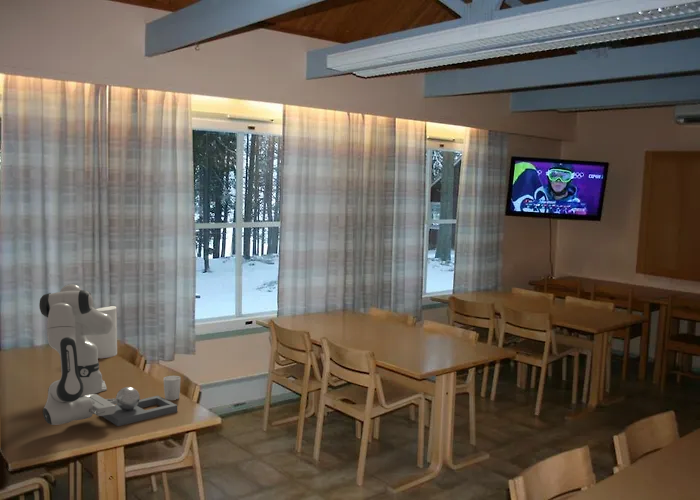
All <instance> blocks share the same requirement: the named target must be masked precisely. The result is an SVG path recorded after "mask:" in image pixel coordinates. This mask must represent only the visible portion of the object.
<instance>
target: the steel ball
mask: <svg viewBox="0 0 700 500" xmlns="http://www.w3.org/2000/svg"><path fill="white" fill-rule="evenodd" d="M115 399H116V400H118V404H116V405H118V406H119V407H120V408H121V409H123V410H131V409H133V408H135V407H136V406H137V405H138V403H139V400H140V393H139V391H138V390H137V389H136V388H134V387H132V386H126V387H123V388H121V389H120V390H119V391H118V392H117V394H116V397H115Z"/></svg>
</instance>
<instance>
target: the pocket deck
mask: <svg viewBox="0 0 700 500" xmlns="http://www.w3.org/2000/svg"><path fill="white" fill-rule="evenodd" d="M156 405H158V407H154V408H149V409H146V410H145V409H144V408H146V407H151V406H156ZM115 407H116V412H115V413H114V414H110V415H104V416H101V417H102V418H104V419H105V420H107V421H109V422H110V423H112V424H113V425H115V426H117V427H121V426H125V425H129V424H133V423H137V422H141V421H145V420H150V419H154V418H157V417H162V416H166V415H170V414H174V413H177V412H178V404H176V403H173V402H172V401H171V400H166V399H165V397H161V396H160V395H154V396H149V397H146V398H141V399H140V400H139V403H138V405H137V406H136V407H135V408H133V409H131V410H123V409H121V408H120V407H119V406H118V405H117V404H115Z"/></svg>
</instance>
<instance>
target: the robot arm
mask: <svg viewBox="0 0 700 500" xmlns="http://www.w3.org/2000/svg"><path fill="white" fill-rule="evenodd" d="M38 307H39V311H40V313H41V315H42V316H44V317H45V318H47V325H46V326H47V327H46V334H47V342H48V345H49V346H50V347H51V348H52V349H54V350H55V351H56V352H57V353H58V354H59V357H60V371H61V374H60V375H61V376H60V379H57V380H54V381H53V382H51V383H50V385H49V387H48V388H47V389H48V390H47V399H46V402H45V405H44V407H43V408H42V415H43V418H44V420H45V422H46V423H47V424H48V425H50V426H51V425H52V426H55V425H64V424H68V423H71V422H73V421H81V420H85V419H89V418H91V417H93V415H96V416H97V417H102V416H104V415H110V414H114V413H115V412H116V407H115V405H117V404H118V400H116V397H115V398H114V397H113V398H104V397H102V396H100V395H99V394H98V393H102V392H104V391H107V384H106V381H105V380H104V379H103V373H102V372H101V371H100V362H99V360H98V359H99V358H98V348H97V346H96V345H95V344H94V343H92V342H90V341H89V340H88V339H87V338H86V335H103V334H108V333H109V332H110V331H111V329H112V327H113V321H112V318H111V317H110V315H108V314H105V313H102V312H100V311H98V310H96V309H97V308H95V307H94V299H93V296H92V294H91V292H89V291H88V290H85V289H84V290H83V289H82V288H81V287H80V286H79V285H76V284H75V283H74V284H73V283H70V284H67V285H65V286H63V287H62V288H61V289H60V291H58V292H49V293H45V294H43V295H41V297H40V299H39V303H38Z"/></svg>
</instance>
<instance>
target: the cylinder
mask: <svg viewBox="0 0 700 500" xmlns="http://www.w3.org/2000/svg"><path fill="white" fill-rule="evenodd" d="M95 309H96V310H98V311H100V312H102V313H105V314H108V315H110V317H111V318H112V321H113V327H112V329H111V331H110V332H109V333H108V334H103V335H85V336H86V338H87V339H88V340H89V341H90V342H92V343H94V344H95V345H96V346H97V348H98V359H106V358H113V357H115V356H117V355H118V319H117V317H118V316H117V315H118V314H117V306H114V305H111V306H104V307H99V308H95Z"/></svg>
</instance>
